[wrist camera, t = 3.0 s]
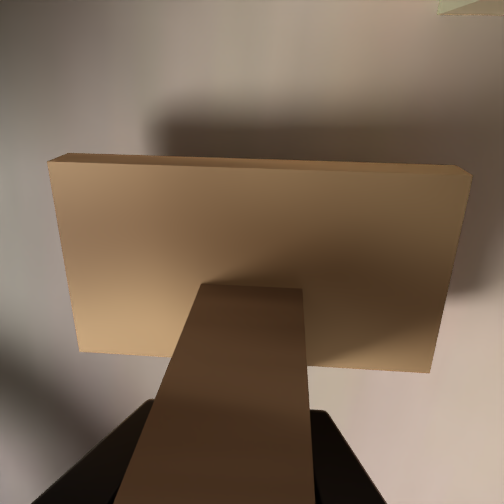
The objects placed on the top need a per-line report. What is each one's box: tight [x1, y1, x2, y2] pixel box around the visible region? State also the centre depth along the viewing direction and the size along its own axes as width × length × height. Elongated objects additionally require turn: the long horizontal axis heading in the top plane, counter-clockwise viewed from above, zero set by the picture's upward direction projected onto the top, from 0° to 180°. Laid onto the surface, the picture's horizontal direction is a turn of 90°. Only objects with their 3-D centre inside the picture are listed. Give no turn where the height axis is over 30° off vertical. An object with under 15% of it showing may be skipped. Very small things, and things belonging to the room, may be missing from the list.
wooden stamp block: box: [47, 153, 473, 504], centre depth 7 cm, size 5×9×9 cm, turn 89°
